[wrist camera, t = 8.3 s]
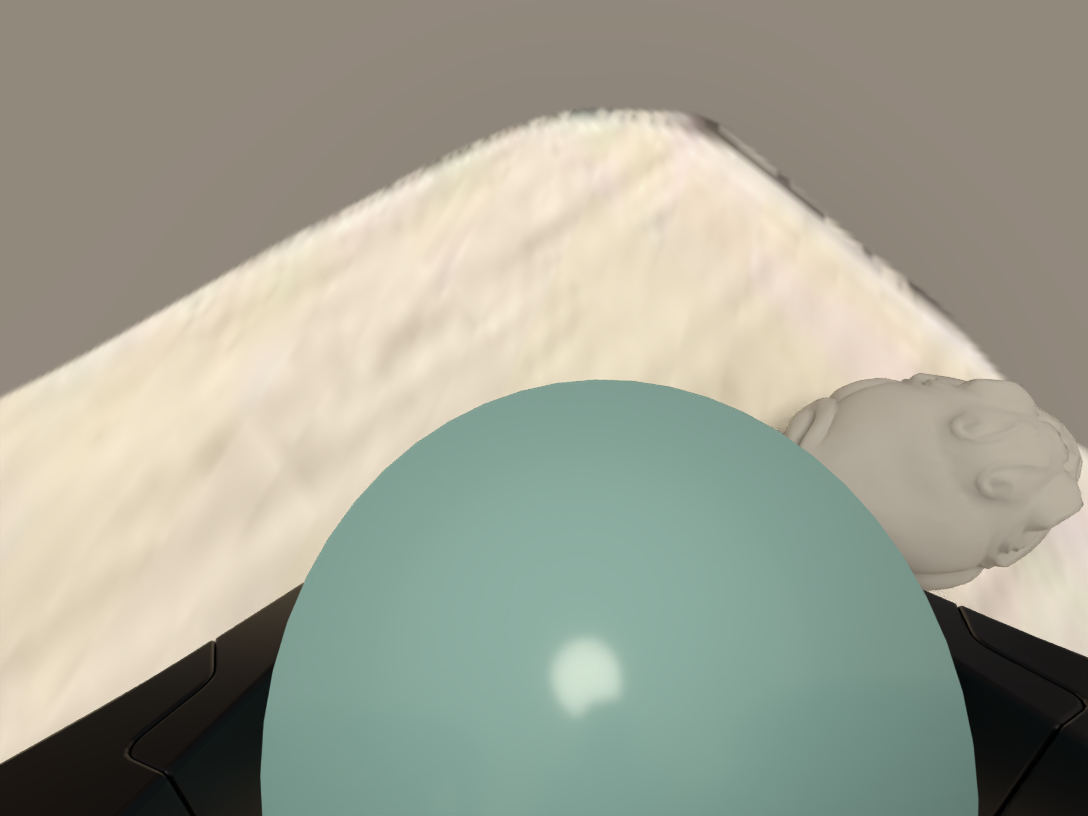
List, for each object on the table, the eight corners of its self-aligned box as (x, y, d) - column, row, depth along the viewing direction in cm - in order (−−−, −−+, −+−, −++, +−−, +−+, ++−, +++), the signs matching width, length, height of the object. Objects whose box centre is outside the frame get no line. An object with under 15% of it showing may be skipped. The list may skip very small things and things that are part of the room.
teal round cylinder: (682, 599, 16) (1103, 687, 4) (564, 749, 15) (676, 1522, 3) (553, 480, 17) (587, 275, 5) (434, 609, 16) (114, 728, 4)
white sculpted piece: (955, 568, 17) (1220, 562, 10) (758, 607, 16) (903, 628, 10) (884, 402, 19) (1071, 307, 12) (706, 433, 18) (800, 353, 12)
